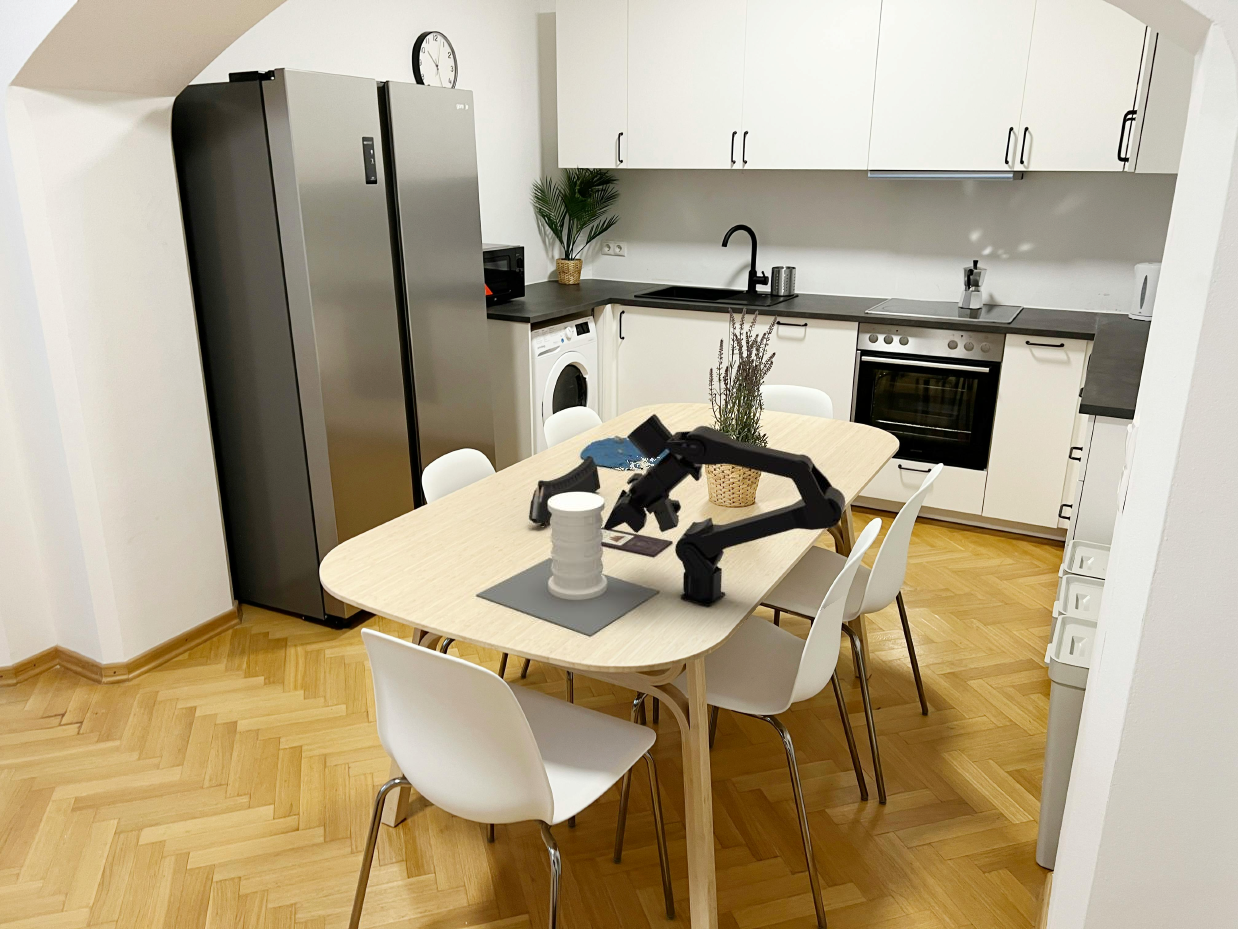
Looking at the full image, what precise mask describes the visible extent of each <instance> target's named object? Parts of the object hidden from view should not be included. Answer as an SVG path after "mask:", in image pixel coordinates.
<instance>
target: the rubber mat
mask: <svg viewBox="0 0 1238 929" xmlns="http://www.w3.org/2000/svg"><path fill="white" fill-rule="evenodd" d="M552 563H553V558H552V557H549V558H547V559H544V560H543V561H540V562H538V563H536V564H534V565H532V566H530V567H528V568H526V569H525V570H522V571H520V572H518V573H516V574H514V575H512V576H511V577H509V578H506V579H504V580H502V581H501V582H498V583H497V584H494V585H493V586H490V587H489V588H487V589H485V590H482V591H480V592H479V593H478V592H477V593H476V594H475V596H476V597H478V598H481V599H483V600H487V601H490V602H492V603H495V604H498V605H501V606H502V607H506V608H509V609H512V610H515V611H517V612H520V613H523V614H526V615H527V616H528V615H529V616H531V617H535V618H538V619H541V620H543V621H546V622H548V623H551V624H553V625H557V626H560V627H562V628H566V629H568V630H571V631H573V632H577V633H578V634H579V633H580V634H582V635H586V636H587V637H592V636H593V635H595V634H596V633H598V632H600V631H602V630H603V629H604V628H606V627H608V626H609V625H611V624H612V623H614V622H616V621H617V620H619V619H620V618H622V617H623V616H625V615H627V614H628V613H629V612H631V611H633V610H634V609H636V608H637V607H639V606H641V605H642V604H644V603H645V602H648V600H650V599H652V598H653V597H655V596H656V595H658V594H660V590H657V589H653V588H650V587H649V586H648V587H647V586H644V585H642V584H639V583H638V584H637V583H635V582H631V581H628V580H625V579H620V578H618V577H615V576H611V575H608V574H606V573H603V572H602V573H601V574H602V575H604V576H605V577H606V579H607V589H606V591H605V592H604V593H603V594H601V595H599V596H597V597H594V598H591V599H586V600H567V599H562V598H559V597H556V596H554V595H552V594H551V593H550V592H549V589H548V581H549V579H550V578H551V577H552V576H553V573H552V569H551V566H552Z"/></svg>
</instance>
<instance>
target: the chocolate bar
mask: <svg viewBox="0 0 1238 929" xmlns="http://www.w3.org/2000/svg"><path fill="white" fill-rule="evenodd" d="M601 531H602V534H603V539H602V542H601V546H602V548H608V549H611V550H616V551H621V552H624V553H625V552H626V553H630V554H636V555H638V556H640V555H641V556H644V557H649V558H653V559H654V558H655V557H657V556H658V555H659V554H661V553H662V552H664V551H665V550H666V549H668V548H669V547H670V546H671V545H673V540H668V539H664V538H663V539H662V538H658V537H653V536H650V535H649V536H648V535H643V534H639V533H635V532H629V531H623V530H619V529H615V528H613V529H611V530H609V531H607V530H606V529H605V528H604V526H602V527H601Z"/></svg>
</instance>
